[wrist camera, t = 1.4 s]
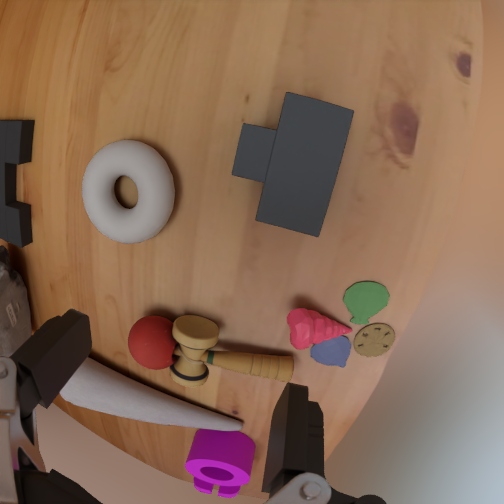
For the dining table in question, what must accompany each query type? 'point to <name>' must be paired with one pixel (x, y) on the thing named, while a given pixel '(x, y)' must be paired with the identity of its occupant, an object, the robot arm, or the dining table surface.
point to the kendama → (196, 351)
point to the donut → (147, 181)
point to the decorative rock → (12, 307)
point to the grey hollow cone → (137, 400)
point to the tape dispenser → (220, 461)
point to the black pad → (14, 180)
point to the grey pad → (295, 162)
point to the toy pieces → (343, 327)
